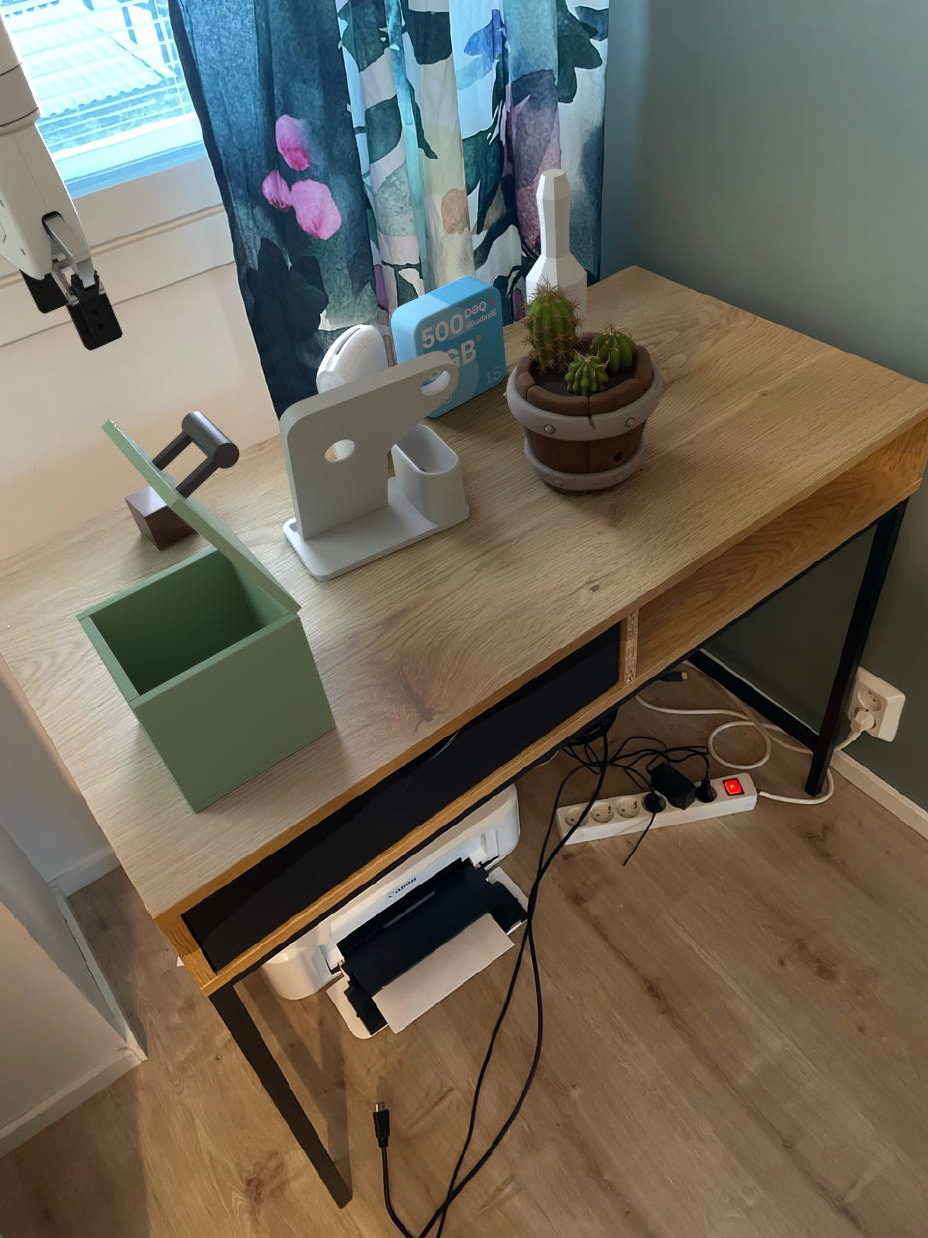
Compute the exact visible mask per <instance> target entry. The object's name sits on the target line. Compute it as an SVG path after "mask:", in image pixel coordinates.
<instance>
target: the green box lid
mask: <svg viewBox="0 0 928 1238" xmlns="http://www.w3.org/2000/svg"><path fill="white" fill-rule="evenodd" d="M180 427H181V432H180V433H179V434H178V435H177V436H175V438H174V439H172V440H171V441H170V442H169V444H167V445H166V446H165V447H164V448H163V449H162V450H161V451H160V452H159V453H158V454H157V455H156V456H155V457H153V456H152V455H150V454H149V453H148V452H146V451H145V450H144V449H143V448H142V447H141V446H140V445H139V444H138V443H137V442H135V440H133V439H132V438H131V437H130V436H129V435H128V434H127V433H126V432H125V431H124V430H122V429H121V428H120V427H119V426H118V425H117V424H116V423H115V422H113V420H111V419H108V420H107V421H105V422H104V423H103V424H102V425H101V427H100V429H101V430H102V431H103V432H104V433H105V434H106V436H108V438H109V439H110V440H111V441H112V443H113V444H114V445H115V446H116V448H118V449H119V451H120V452H121V453H122V454H123V456H125V458H126V459H127V461H129V462H130V463H131V465H132V466H133V467H134V468H135V469H136V471H137V472H138V473H139V474H140V476H142V478H143V479H144V480H145V481H146V482H147V484H148V485H150V486H151V487H152V488H153V489H154V490H155V492H156V493H157V494H158V495H159V496H160V497H161V499H162V500H163V501H164V502H165V503H166V504H167V506H168V507H169V508H170V509H171V510H172V511H174V512H175V513H176V514H177V515H178V516H179V517H181V518H182V519H183V520H184V521H185V522H186V523H188V524H189V525H190V526H191V527H192V528H193V529H194V530H196V533H198V534H199V535H200V536H201V537H202V538H203V539H205V540H206V541H207V542H208V543H209V544H210V545H212V546H214V547H215V548H216V549H218V550H219V551H220V552H221V553H222V554H223V555H225V556H226V557H227V558H228V559H229V560H230V561H231V562H233V563H234V564H235V565H236V566H237V567H238V568H240V569H241V570H242V571H243V572H244V573H245V574H247V575H248V576H249V577H250V578H251V579H252V580H253V581H255V582H256V583H257V584H258V585H259V586H260V587H262V588H263V589H264V590H265V591H266V592H267V593H269V594H270V595H271V596H272V597H273V598H274V599H275V600H277V601H278V602H279V603H280V604H281V605H282V606H284V607H285V608H286V609H287V610H288V611H289V612H291V613H292V614H293V615H295V614H296V613H297V614H298V612H299V611H300V610H301V609H302V606H301V604H300V603H299V602H298V601H297V600H296V599H295V598H294V597H293V596H292V595H291V594H290V592H289V591H288V590H287V589H286V588H285V587H284V585H282V584H281V583H280V581H279V580H278V579H277V578H276V576H274V575H273V574H272V573H271V572H270V570H269V569H268V568H267V567H266V566H265V565H264V564H263V563H262V562H261V561H260V559H258V558H257V556H256V555H255V554H254V553H253V552H252V551H251V550H250V548H248V546H247V545H246V544H245V543H244V542H243V541H242V540H241V539H240V538H239V536H238V535H237V534H235V532H234V531H233V530H232V529H231V528H230V527H229V526H228V525H227V524H226V523H224V522H223V521H222V520H221V518H219V517H218V516H217V515H216V514H214V512H213V511H211V510H210V509H209V508H208V507H207V506H206V505H204V504H203V502H201V501H200V500H199V499H198V498H197V497H196V496H195V495H194V494H193V493H194V492H195V491H196V490H198V488H200V487H201V486H202V485H203V484H204V482H206V481H207V480H208V479H209V478H210V477H211V476H212V475H213V474H214V473H215V472H216V471H217V470H218V469H222V470H227V469H230V468H232V467H234V466H235V465H236V464H237V463H238V461H239V458H240V449H239V447H238V446H237V445H236V444H235V442H233V441H232V440H231V438H229V437H228V436H227V435H226V434H225V433H224V432H223V431H222V430H220V428H219V427H218V426H216V425H215V424H214V423H213V422H212V421H211V420H210V419H209V417H207V416H206V415H205V414H204V413H202V412H200V411H191V412H189V413H187V414H185V416H184V417H183V419H182V420H181V426H180ZM192 443H193V444H194V446H196V447H197V449H199V450H200V451H201V452H202V453H203V455H205V457H206V458H205V459H204V460H203V461H202V462H200V464H198V465H197V466H196V468H194V469H193V470H192V471H190V473H189V474H188V475H187V476H186V477H185V478H184V479H183V480H182V481H181V482H180V481H179V480H177V479H176V478H175V477H174V476H173V475H172V474H171V473H170V472H169V471H168V470H166V468H167V467H168V466H169V465H170V464H171V463H172V462H173V461H174V460H175V459H176V458H177V457H178V456H179V455H180V454H181V453H182V452H183V451H184V450H185V449H187V448H188V447H189V446H190V445H191V444H192Z"/></svg>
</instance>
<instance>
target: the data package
mask: <svg viewBox="0 0 928 1238" xmlns="http://www.w3.org/2000/svg"><path fill="white" fill-rule="evenodd" d="M502 309H503V308H502V296H501V293H500V291H499V289H498V288H497V287H495V286H494V285H491V284H489V283H487V282H485V281H482V280H481V279H478V278H476V277H475V276H471V275H464V276H462V277H459V278H458V279H455V280H453V281H451V282H449V283H447V284H444V285H442V286H441V287H438V288H435V289H434V290H432V291H430V292H427V293H425V294H423V295H421V296H419V297H417V298H415V299H412V300H411V301H408V302H406V303H404V304H402V305H400V306H399V307H397V308H396V309H395V310H394V311H393V313H392V315H391V319H390V327H391V334H392V339H393V345H394V351H395V357H396V363H397V365H398V364H401V363H403V362H406V361H409V360H411V359H414V358H417V357H419V356H422V355H425V354H428V353H430V352H434V351H443V352H445V353H447V354H448V356H449V357H450V358H451V360H452V361H453V363H454V364H455V365H456V367H457V368H458V371H459V376H458V384H457V387H456V389H455V390H454V392H453V393H452V394H451V395H450V396H449V397H448V398H447V399H445V400H444V401H443V402H442V403H441V404H440V405H439V406H438V407H436V408H435V409H434V410H433V411H432V412H431V413H430V414H429V415H427V417H430V418H438V417H440V416H442V415H444V414H446V413H447V412H449V411H451V410H453V409H455V408H457V407H459V406H461V405H463V404H464V403H466V402H468V401H470V400H471V399H473V398H475V397H477V396H479V395H481V394H483V393H485V392H486V391H488V390H491V389H492V388H495V387H496V386H498V385H499V384H500V383H502V381H503V380H504V378H505V376H506V373H507V361H506V359H507V358H506V347H505V335H504V322H503V310H502ZM442 373H443V371H438V372H435V373H433V374H432V375H430V376H429V377H428V378H427V379H426V380H425V381H424V383H423V385H422V386H426V385H428V384H430V383H432V382H434V381H435V380H436V379H437V378H438V377H439V376H440V375H441V374H442Z"/></svg>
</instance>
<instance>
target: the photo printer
mask: <svg viewBox="0 0 928 1238" xmlns="http://www.w3.org/2000/svg"><path fill="white" fill-rule="evenodd" d="M387 368H390V367H389V361H388V357H387V351H386V347H385V341H384V339H383V336H382V334H381V333H380V332H379V330H378V329H376V328H375V327H374V326H373V325H371V324H370V325H363V324H361V323H360V324H357V325H355V326H353V327H350V328H349V329H347V330H346V331H344V333H342V334H341V335H340V336H339V337H338V338H337V339H336V340H335V342H333V344H332V345H331V346H330V348H329V349H328V351H327V352H326V354H325V355H324V358H323V359H322V361H321V363H320V365H319V368H318V371H317V375H316V380H315V381H316V388H317V392H318V394H320V393H323V392H325V391H328V390H331V389H333V388H336V387H339V386H341V385H344V384H347V383H349V382H352V381H355V380H357V379H360V378H363V377H365V376H368V375H371V374H373V373H376V372H379V371H382V370H384V369H387ZM352 446H354V442H353V441H351V440H342V441H339V442H337V443H335V444H333V445H332V446H331V447H332V450H333V454H334V458H335V459H336V460H340V459H342V458H344V457H346V456H347V455H348V454H349V449H350V448H351V447H352Z"/></svg>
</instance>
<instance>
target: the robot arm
mask: <svg viewBox="0 0 928 1238" xmlns="http://www.w3.org/2000/svg"><path fill="white" fill-rule="evenodd" d="M22 58H23V57H22V56H21V53H20V51H19V48H18V46H17V44H16V40H15V39H14V36H13V33H12V32H11V29H10V26H9V24H8V22H7V19H6V17H5V14H4V12H3V9H2V7H1V6H0V255H1V256H3V257H4V258H5V259H6V260H7V261H9V262H10V263H11V264H12V265H14V266H15V267H17V268H18V270H19V272H20V274H21V276H22V279H23V281H24V283H25V285H26V287H27V289H28V292H29V293H30V296H31V298H32V300H33V301H34V304H35V306H36V308H37V310H38V311H39V312H40V313H42V315H43V314H44V315H46V314H48V313H51V312H54V311H55V310H58V309H60V308H62V307H65V308H66V311H67V312H68V314H69V317H70V319H71V321H72V323H73V326H74V327H75V330H76V332H77V335H78V336H79V339H80V341H81V343H82V346H84V348H85V349H86V350H88V351H94V350H97V349H98V348H101V347H103V346H106V345H108V344H110V343H113V342H114V341H116V340H119V339H121V338H123V330H122V328H121V326H120V323H119V321H118V318H117V315H116V313H115V311H114V309H113V306H112V304H111V301H110V299H109V296H108V294H107V291H106V288H105V286H104V284H103V282H102V280H101V278H100V274H98V271H97V269H95V267H94V263H93V260H92V257H91V255H92V249H91V246H90V243H89V240H88V237H87V234H86V232H85V229H84V227H83V223H82V221H81V219H80V217H79V214H78V212H77V210H76V208H75V204H74V203H73V200H72V198H71V196H70V194H69V193H70V192H69V191H68V189H67V187H66V184H65V182H64V180H63V178H62V176H61V174H60V171H59V170H58V167H57V165H56V163H55V160H54V159H53V156H52V153H51V151H50V149H49V148H48V146H47V144H46V142H45V140H44V138H43V136H42V134H41V131H40V130H39V128H38V126H37V124H36V122H37V121H38V120H39V119H40V118H41V117H42V116H43V115H44V110H43V107H42V105H41V103H40V100H39V97H38V95H37V92H36V89H35V88H34V85H33V83H32V80H31V77H30V75H29V73H28V71H27V68H26V66H25V63H24V60H23V59H22ZM64 256H65V257H64ZM61 257H64V258H63V259H60V260H59V258H61ZM71 271H72V272H73V273H72V274H70V280H69V281H70V282H69V281H68V279H67V277H66V273H69V272H71Z"/></svg>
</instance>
